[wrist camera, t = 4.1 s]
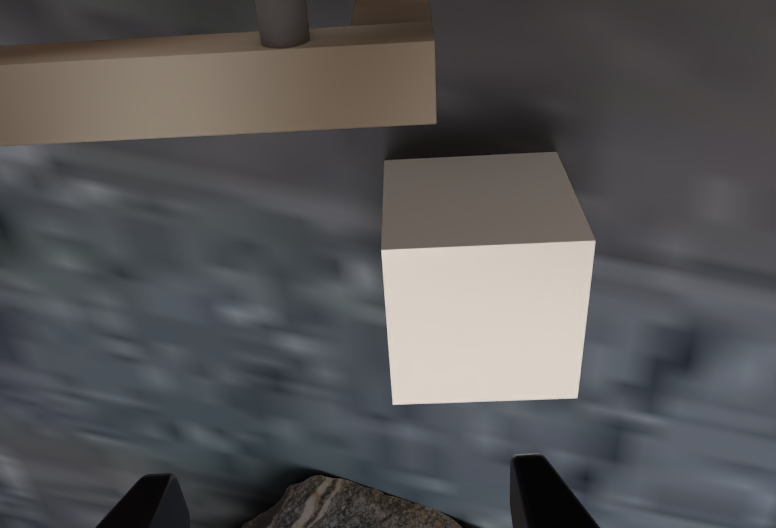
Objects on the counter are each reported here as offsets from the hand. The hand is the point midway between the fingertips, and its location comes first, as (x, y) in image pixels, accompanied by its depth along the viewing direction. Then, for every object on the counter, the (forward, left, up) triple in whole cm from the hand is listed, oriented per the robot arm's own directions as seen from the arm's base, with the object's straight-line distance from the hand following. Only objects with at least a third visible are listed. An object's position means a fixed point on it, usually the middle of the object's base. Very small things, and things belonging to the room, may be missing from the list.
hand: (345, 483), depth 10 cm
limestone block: (-3, +4, -13) cm, 14 cm away
